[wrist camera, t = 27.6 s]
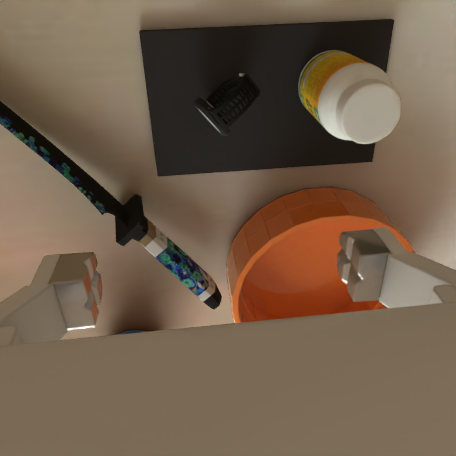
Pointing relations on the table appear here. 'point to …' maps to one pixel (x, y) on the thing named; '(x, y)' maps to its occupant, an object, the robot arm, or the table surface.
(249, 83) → the smartwatch
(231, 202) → the table surface
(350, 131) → the supplement bottle
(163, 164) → the mat
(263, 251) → the bowl
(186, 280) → the knife
